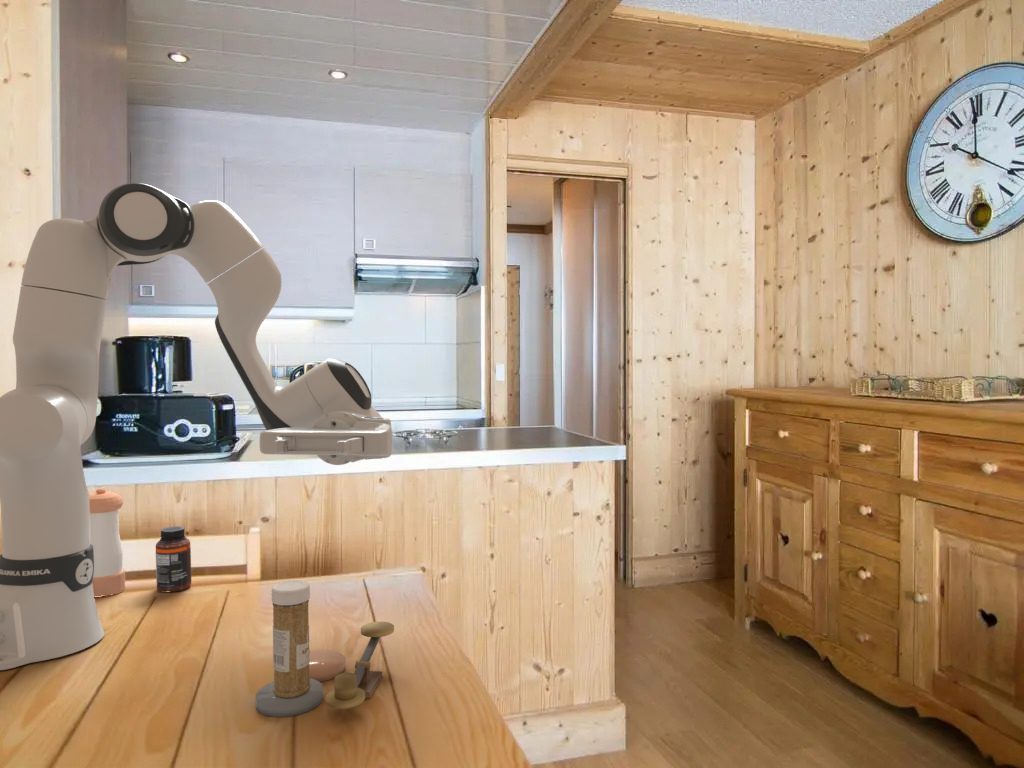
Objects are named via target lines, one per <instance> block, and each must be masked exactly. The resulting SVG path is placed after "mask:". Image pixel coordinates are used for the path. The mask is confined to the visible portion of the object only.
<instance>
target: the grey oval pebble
mask: <svg viewBox="0 0 1024 768" xmlns="http://www.w3.org/2000/svg"><path fill="white" fill-rule="evenodd" d="M309 680H310V685H311V686H310V689H309V690H308V691H307V692H306V693H304V694H302V695H300V696H297V697H290V698H283V697H279V696H277V695H275V694H274V692H273V688H274V681H272V682H270V683H268V684H266V685H264V686H262V687H261V688H260V689H258V691H257V692H256V694H255V709H256V710H257V711H258V713H260V714H262V715H264V716H268V717H274V718H285V717H286V718H287V717H292V716H297V715H301V714H304V713H308V712H310V711H312V710H314V709H316V708H317V707H318V706H319V705H320V704H321V703H322V702H323V699H324V685H323V684H322V682H319V681H317V680H314V679H310V678H309Z"/></svg>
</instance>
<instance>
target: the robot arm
mask: <svg viewBox="0 0 1024 768" xmlns="http://www.w3.org/2000/svg"><path fill="white" fill-rule="evenodd" d="M167 255H175V256H178V257H180V258H182V259H184V260H185V261H186V262H188V263H189V264H190V265H191V266H192V267H194V269H195V270H196V271H197V273H198V274H199V275H200V277H201V279H202V280H203V281H204V283H206V284H207V286H208V287H209V289H210V290H211V293H212V294H213V297H214V300H215V302H216V305H217V306H216V307H217V316H215V317H216V318H215V319H214V326H215V329H216V333H217V335H218V337H219V339H220V341H221V344H222V346H223V347H224V350H225V352H226V354H227V356H228V357H229V359H230V361H231V363H232V365H233V367H234V369H235V370H236V372H237V374H238V376H239V377H240V379H241V381H242V383H243V385H244V387H245V388H246V391H247V392H248V395H250V398H251V399H252V401H253V403H254V405H255V408H256V410H257V412H258V415H259V418H260V420H261V422H262V424H263V426H264V428H265V430H262V431H261V432H259V433H260V434H259V451H260V453H261V454H264V455H283V456H284V455H285V456H286V455H291V456H292V455H295V456H296V455H297V456H298V455H299V456H300V455H303V456H306V455H307V456H308V455H309V456H313V455H314V456H317V457H318V458H319V459H320V460H322V461H323V462H325V463H327V464H329V465H331V466H332V465H333V466H342V465H346V464H349V463H355V462H359V461H362V460H363V461H364V460H365V461H367V460H377V459H379V460H380V459H381V460H382V459H386V458H387V459H388V458H390V457H391V456H392V447H393V446H392V445H393V432H392V431H393V430H392V421H391V419H390V418H386V417H382V416H381V414H380V413H379V411H377V410H376V409H375V408H374V407H373V406H372V399H373V398H372V393H371V391H370V389H369V386H368V384H367V382H366V380H365V379H364V377H363V376H362V374H361V373H360V371H358V370H357V369H356V367H354V366H353V365H352V364H350V363H348V362H346V361H344V360H341V359H338V358H332V357H331V358H327V359H325V360H324V361H322V362H321V363H319V364H316V366H314V367H312V368H311V369H309V370H307V371H306V372H305V373H303V374H302V375H300V376H299V377H297V378H296V379H294V380H293V381H292V380H291V382H289V383H287V384H285V385H284V386H280V385H278V384H277V383H276V381H275V380H274V377H273V376H272V373H271V372H270V370H269V368H268V367H267V365H266V362H265V361H264V359H263V357H262V355H261V353H260V351H259V349H258V347H257V335H258V331H259V329H260V327H261V325H262V324H263V322H264V321H265V319H266V317H268V315H269V314H270V312H271V311H272V310H273V309H274V306H275V305H276V303H277V301H278V300H279V297H280V294H281V290H282V285H283V284H282V275H281V274H282V273H281V272H280V268H279V267H278V266H277V263H276V262H275V261H274V259H273V257H272V256H271V254H270V253H269V252H268V250H267V249H266V248H265V246H264V245H263V244H262V242H261V241H260V239H259V238H258V237H257V236H256V235H255V233H254V232H253V231H252V229H251V228H250V227H249V226H248V225H247V224H246V223H245V222H244V220H242V219H241V218H240V216H238V215H237V213H235V211H233V210H232V209H231V208H230V207H229V206H228V205H227V204H226V203H224V202H221V201H219V200H203V201H198V202H197V203H194V204H191V205H189V204H188V203H187V202H185V201H183V200H182V199H179V198H177V197H176V196H173V195H171V194H169V193H167V192H165V191H163V190H162V189H160V188H157V187H156V186H153V185H149V184H146V183H142V182H129V183H125V184H122V185H119V186H116V187H115V188H113V189H112V190H110V191H109V193H107V194H106V195H105V196H104V198H103V200H102V201H101V204H100V205H99V211H98V214H97V215H96V216H94V217H93V218H91V219H87V220H80V219H77V218H76V219H75V218H69V217H68V218H67V217H65V218H64V217H63V218H54V219H50V220H48V221H46V222H44V223H43V224H42V225H40V226H39V228H38V229H37V231H36V233H35V236H34V239H33V240H32V243H31V245H30V249H29V251H28V255H27V257H26V261H25V264H24V265H25V266H24V269H23V272H22V276H21V277H22V278H21V284H20V285H21V286H20V290H19V296H18V302H17V309H16V314H15V322H14V327H13V334H12V343H13V346H14V353H15V354H14V355H15V371H16V375H15V376H16V381H15V382H16V384H15V389H13V390H10V391H8V392H6V393H4V394H3V395H1V396H0V512H1V515H0V517H1V520H0V521H1V554H0V671H5V670H6V671H7V670H10V669H14V668H17V667H20V666H23V665H27V664H32V663H37V662H43V661H47V660H51V659H52V660H53V659H58V658H61V657H65V656H68V655H71V654H74V653H77V652H80V651H83V650H85V649H86V648H89V647H91V646H93V645H94V644H97V643H98V642H99V641H101V640H102V639H103V637H104V635H105V631H104V629H103V626H102V622H101V621H100V618H99V617H100V616H99V613H98V608H97V605H96V598H94V592H93V583H92V581H93V574H94V550H93V545H91V544H90V503H89V494H90V492H89V490H88V486H87V483H86V478H85V473H84V472H85V471H84V466H83V465H84V464H83V459H82V458H83V457H82V450H81V449H82V448H81V446H82V445H83V444H84V443H86V441H87V440H88V439H90V437H91V435H92V434H93V431H94V430H95V426H96V423H97V421H96V420H97V408H98V397H99V396H98V394H99V378H100V377H99V376H100V351H101V343H102V335H103V331H104V324H105V323H104V322H105V317H106V311H107V304H108V297H109V290H110V285H111V280H112V276H113V274H114V271H115V269H116V268H117V267H118V266H131V265H133V266H134V265H145V264H150V263H153V262H157V261H159V260H161V259H162V258H164V257H165V256H167Z"/></svg>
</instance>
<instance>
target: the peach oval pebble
mask: <svg viewBox="0 0 1024 768" xmlns="http://www.w3.org/2000/svg"><path fill="white" fill-rule="evenodd" d="M309 651H310V662H309V678H310V679H314V680H317V681H319V682H320V683H322V682H326V681H330V680H332V679H334V678H335V676H337V675H339V674H342V673H344V671H345V670H346V656H345V655H344V654H343V653H341V652H339V651H337V650H332V649H314V650H309Z"/></svg>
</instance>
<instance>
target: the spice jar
mask: <svg viewBox="0 0 1024 768" xmlns="http://www.w3.org/2000/svg"><path fill="white" fill-rule="evenodd" d="M310 587H311V585H310V583H308V581H305V580H286V581H281V582H277V583H276V584H274V585H273V586H272V587H271V602H272V606H273V607H272V609H273V612H272V614H273V621H272V623H273V625H272V652H273V653H272V654H273V658H272V660H273V669H274V670H273V676H274V677H273V679H274V681H273V682H274V688H273V692H274V694H275V695H277V696H279V697H283V698H290V697H297V696H300V695H302V694H304V693H306V692H307V691H308V690H309V689H310V686H311V685H310V680H309V662H310V651H311V650H310V624H309V621H310V620H309V601H310V598H311V588H310Z"/></svg>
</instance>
